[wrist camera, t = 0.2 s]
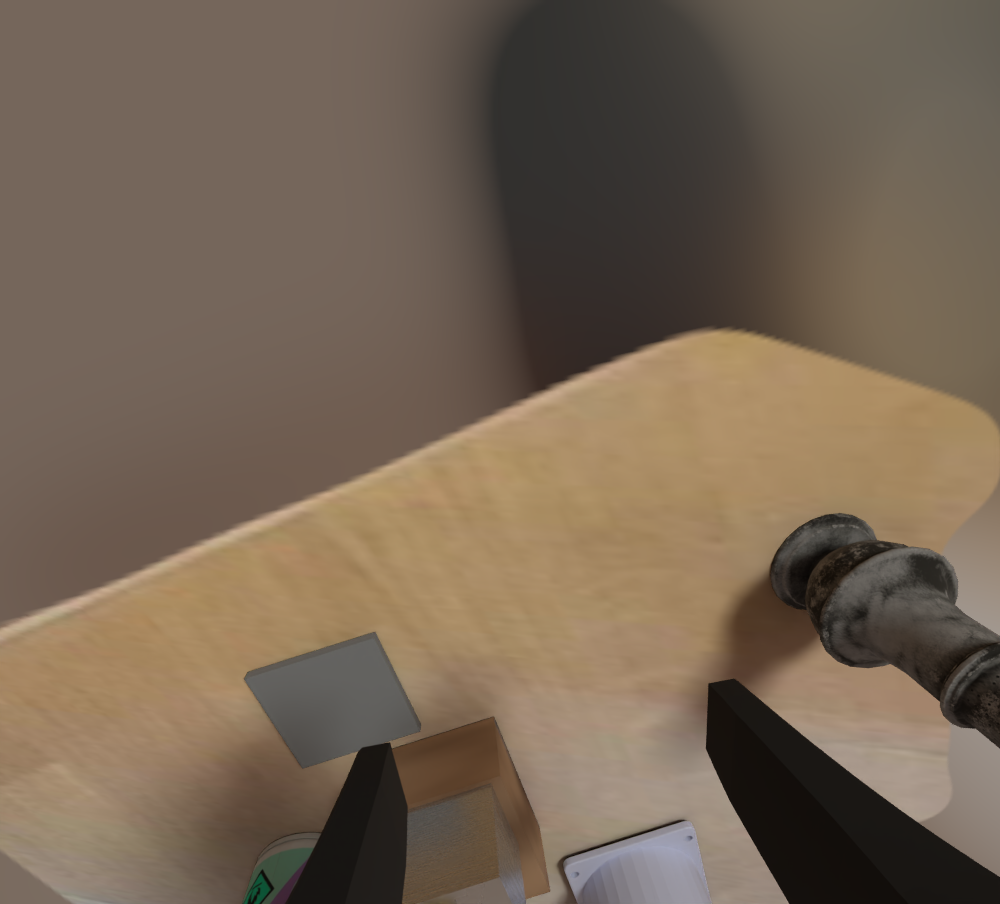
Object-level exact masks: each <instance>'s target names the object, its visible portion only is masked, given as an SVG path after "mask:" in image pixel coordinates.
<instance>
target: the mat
mask: <svg viewBox="0 0 1000 904" xmlns="http://www.w3.org/2000/svg"><path fill="white" fill-rule="evenodd" d="M244 680H245V681H246V683H247V684H248V686H249V687H250V689H251V690H252V692H253V694H254V695H255V697H256V698H257V700H258V701H259V703H260V704H261V706H262V707H263V709H264V710H265V712H266V713H267V715H268V716H269V718H270V720H271V721H272V723H273V724H274V726H275V727H276V729H277V730H278V732H279V733H280V735H281V736H282V738H283V739H284V741H285V742H286V744H287V746H288V747H289V749H290V750H291V752H292V753H293V755H294V756H295V758H296V759H297V761H298V762H299V764H300V765H301V767H302V768H306V767H309V766H313V765H316V764H319V763H322V762H325V761H328V760H331V759H335V758H338V757H341V756H344V755H347V754H350V753H354V752H357V751H359V750H360V749H361V748H362V747H367V746H373V745H378V744H382V743H385V742H388V741H391V740H395V739H398V738H401V737H404V736H407V735H410V734H413V733H417V732H420V728H421V724H420V722H419V720H418V718H417V716H416V714H415V711H414V709H413V707H412V705H411V703H410V701H409V699H408V697H407V695H406V693H405V691H404V689H403V687H402V685H401V683H400V681H399V679H398V677H397V675H396V673H395V671H394V669H393V667H392V665H391V663H390V661H389V659H388V657H387V655H386V653H385V651H384V649H383V647H382V645H381V643H380V641H379V639H378V637H377V635H376V633H375V632H373V633H370V634H367V635H363V636H360V637H357V638H354V639H351V640H348V641H345V642H341V643H338V644H335V645H332V646H329V647H326V648H322V649H319V650H316V651H313V652H310V653H307V654H303V655H300V656H297V657H294V658H291V659H288V660H285V661H281V662H278V663H275V664H272V665H269V666H266V667H262V668H259V669H256V670H253V671H250V672H248V673H247V675H246V677H245V678H244Z"/></svg>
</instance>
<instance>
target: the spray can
mask: <svg viewBox="0 0 1000 904" xmlns="http://www.w3.org/2000/svg"><path fill="white" fill-rule="evenodd" d="M320 835H321V833H300V834H294V835H290V836H286V837H284V838H281V839H279V840H276V841H275V842H273V843H272V844H270V845H269V846H268V847H266V848H265V849H264V850H263V851H262V853H261V854H260V856H259V857H258V860H257V863H256V865H255V868H254V870H253V873H252V876H251V879H250V882H249V885H248V888H247V891H246V894H245V897H244V900H243V903H242V904H285V903H286V901H287V899H288V897H289V895H290V894H291V892H292V890H293V888H294V886H295V884H296V883H297V881H298V879H299V877H300V875H301V873H302V871H303V869H304V867H305V865H306V863H307V861H308V859H309V857H310V855H311V853H312V851H313V849H314V847H315V845H316V843H317V841H318V839H319V837H320Z"/></svg>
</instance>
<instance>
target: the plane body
mask: <svg viewBox="0 0 1000 904" xmlns="http://www.w3.org/2000/svg"><path fill="white" fill-rule="evenodd" d="M392 752H393V755H394V759H395V762H396V766H397V770H398V773H399V777H400V780H401V784H402V788H403V791H404V795H405V798H406V802H407V806H408V809H411V808H414V807H417V806H420V805H423V804H426V803H429V802H433V801H436V800H439V799H442V798H445V797H448V796H452V795H455V794H458V793H461V792H464V791H467V790H470V789H474V788H477V787H480V786H483V785H486V784H489V783H491V784H492V786H493V788H494V790H495V793H496V795H497V797H498V799H499V802H500V804H501V806H502V808H503V811H504V813H505V815H506V817H507V820H508V822H509V824H510V826H511V829H512V831H513V833H514V835H515V837H516V840H517V842H518V844H519V852H520V860H521V868H522V876H523V884H524V892H525V899H528V898H531V897H534V896H537V895H541V894H544V893H547V892H550V887H549V881H548V875H547V869H546V863H545V857H544V851H543V845H542V839H541V833H540V828H539V825H538V822H537V820H536V817H535V815H534V813H533V810H532V808H531V805H530V803H529V800H528V798H527V796H526V793H525V791H524V788H523V786H522V784H521V781H520V779H519V776H518V774H517V771H516V769H515V767H514V764H513V762H512V759H511V757H510V754H509V752H508V750H507V747H506V745H505V742H504V740H503V737H502V735H501V733H500V730H499V728H498V725H497V723H496V720H495V718H494V717H492V718H489V719H485V720H482V721H479V722H476V723H473V724H470V725H467V726H463V727H460V728H457V729H454V730H451V731H448V732H444V733H441V734H438V735H435V736H432V737H429V738H426V739H422V740H419V741H416V742H413V743H410V744H407V745H403V746H400V747H397V748H394V749H392Z"/></svg>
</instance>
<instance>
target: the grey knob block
mask: <svg viewBox="0 0 1000 904" xmlns="http://www.w3.org/2000/svg"><path fill="white" fill-rule="evenodd" d="M402 904H526V900H525V892H524V884H523V876H522V868H521V860H520V852H519V844H518V842H517V840H516V837H515V835H514V833H513V831H512V829H511V826H510V824H509V822H508V820H507V817H506V815H505V813H504V811H503V808H502V806H501V804H500V802H499V799H498V797H497V795H496V793H495V790H494V788H493V786H492V784H491V783H489V784H486V785H483V786H480V787H477V788H474V789H470V790H467V791H464V792H461V793H458V794H455V795H452V796H448V797H445V798H442V799H439V800H436V801H433V802H429V803H426V804H423V805H420V806H417V807H414V808H411V809H408V818H407V855H406V872H405V881H404V890H403V899H402Z"/></svg>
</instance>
